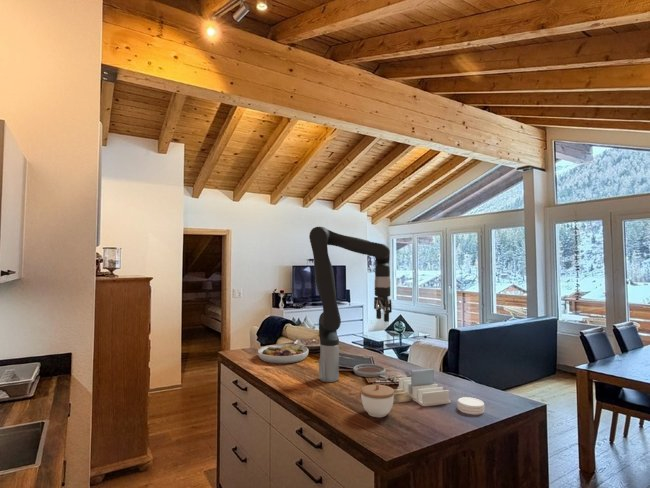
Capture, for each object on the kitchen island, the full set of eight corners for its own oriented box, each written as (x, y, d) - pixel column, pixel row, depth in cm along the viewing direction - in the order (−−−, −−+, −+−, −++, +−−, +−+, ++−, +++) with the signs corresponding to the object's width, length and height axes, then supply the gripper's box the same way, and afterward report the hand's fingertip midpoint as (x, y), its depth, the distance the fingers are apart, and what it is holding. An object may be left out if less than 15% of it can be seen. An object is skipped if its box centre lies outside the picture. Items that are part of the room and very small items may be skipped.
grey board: (413, 395, 166) (413, 371, 166) (411, 393, 168) (411, 370, 168) (433, 392, 169) (433, 369, 169) (431, 391, 171) (431, 368, 171)
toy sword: (383, 381, 181) (346, 366, 204) (382, 387, 181) (346, 371, 204) (408, 375, 191) (370, 361, 214) (408, 381, 191) (370, 366, 214)
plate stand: (384, 404, 158) (384, 396, 158) (376, 397, 166) (376, 390, 166) (411, 400, 162) (410, 393, 162) (401, 394, 169) (401, 387, 170)
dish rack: (422, 406, 156) (422, 393, 156) (397, 389, 176) (397, 377, 177) (450, 403, 160) (450, 390, 160) (422, 386, 180) (422, 375, 180)
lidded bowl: (372, 404, 157) (372, 377, 158) (400, 412, 149) (400, 383, 150) (354, 414, 148) (354, 385, 148) (383, 423, 140) (383, 392, 140)
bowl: (254, 354, 241) (254, 341, 241) (301, 350, 250) (301, 338, 250) (261, 367, 212) (262, 352, 212) (314, 362, 221) (314, 349, 221)
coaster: (460, 403, 160) (460, 395, 160) (486, 408, 154) (486, 399, 155) (455, 412, 151) (454, 402, 151) (482, 417, 146) (482, 407, 146)
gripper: (369, 285, 191) (369, 318, 190) (381, 287, 177) (381, 323, 176) (383, 284, 193) (383, 317, 192) (396, 286, 179) (396, 322, 179)
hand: (382, 320), depth 184 cm, fingers open, 8 cm apart
